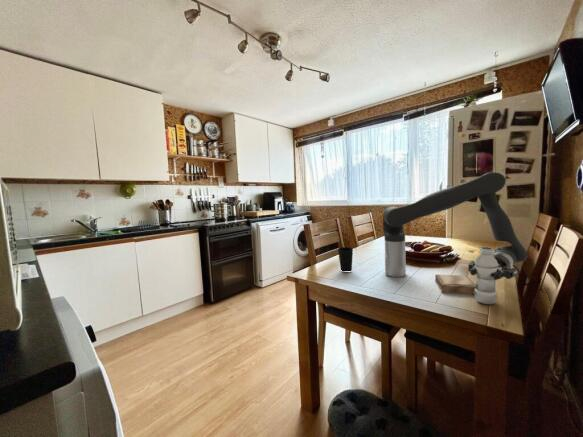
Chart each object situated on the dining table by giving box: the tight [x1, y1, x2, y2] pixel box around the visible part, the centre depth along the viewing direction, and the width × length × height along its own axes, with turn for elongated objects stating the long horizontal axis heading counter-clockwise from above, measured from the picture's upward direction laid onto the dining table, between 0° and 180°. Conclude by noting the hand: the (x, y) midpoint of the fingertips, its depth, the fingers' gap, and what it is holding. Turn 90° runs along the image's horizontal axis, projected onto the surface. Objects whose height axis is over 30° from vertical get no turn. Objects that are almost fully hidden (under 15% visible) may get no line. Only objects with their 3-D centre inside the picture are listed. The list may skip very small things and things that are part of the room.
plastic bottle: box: [473, 246, 498, 305], centre depth 90 cm, size 6×7×20 cm
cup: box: [337, 246, 354, 271], centre depth 133 cm, size 8×8×12 cm
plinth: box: [434, 274, 476, 295], centre depth 105 cm, size 12×12×3 cm
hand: (483, 274), depth 88 cm, fingers closed on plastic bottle, 6 cm apart
